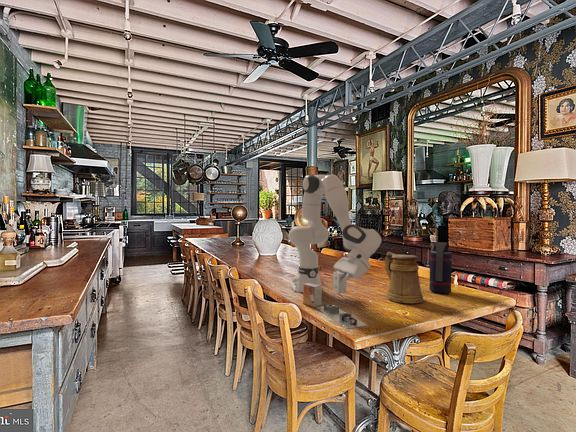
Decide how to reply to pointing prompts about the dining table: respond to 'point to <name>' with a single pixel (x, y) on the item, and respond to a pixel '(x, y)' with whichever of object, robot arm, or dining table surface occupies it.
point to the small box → (312, 294)
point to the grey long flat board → (340, 316)
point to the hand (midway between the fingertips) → (338, 280)
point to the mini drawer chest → (339, 282)
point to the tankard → (403, 278)
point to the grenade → (440, 268)
